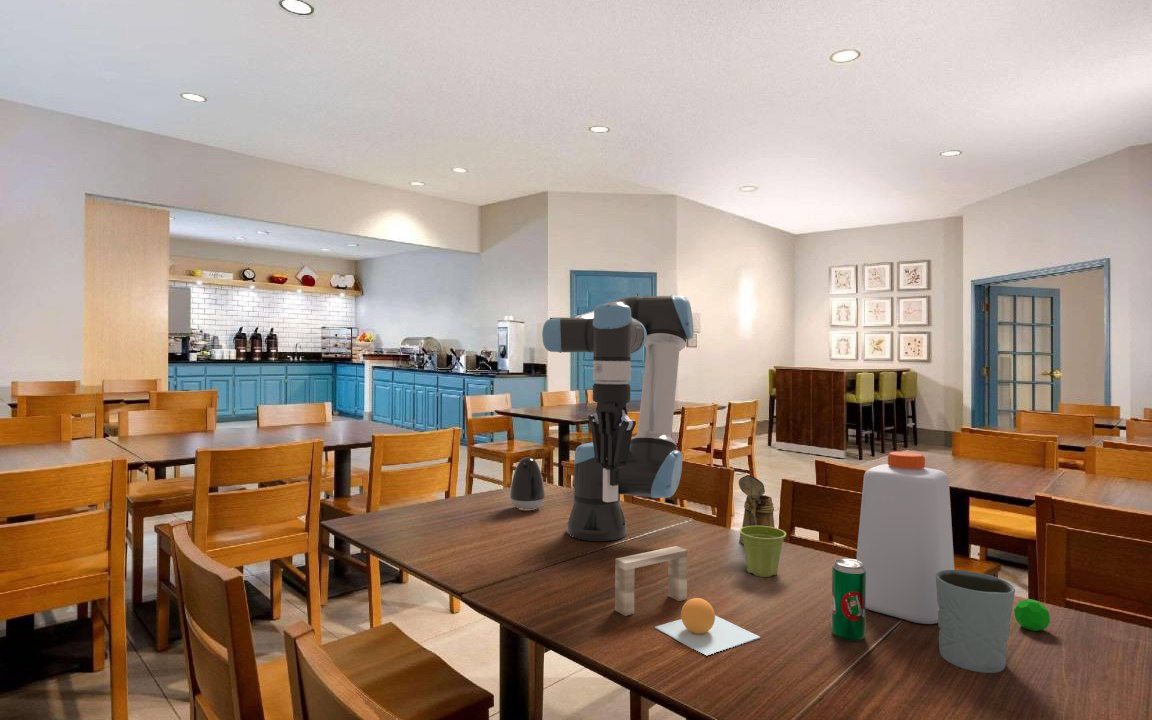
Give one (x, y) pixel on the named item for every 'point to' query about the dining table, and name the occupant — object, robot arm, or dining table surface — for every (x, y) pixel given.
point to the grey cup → (974, 619)
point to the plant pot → (762, 549)
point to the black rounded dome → (527, 485)
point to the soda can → (848, 599)
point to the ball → (698, 615)
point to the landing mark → (709, 636)
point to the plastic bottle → (905, 537)
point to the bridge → (629, 563)
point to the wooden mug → (756, 504)
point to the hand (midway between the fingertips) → (610, 500)
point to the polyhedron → (1032, 615)
